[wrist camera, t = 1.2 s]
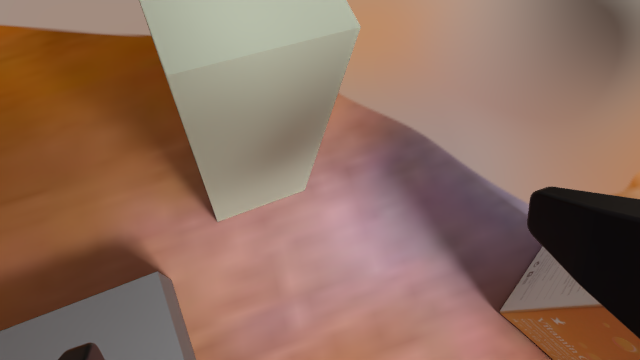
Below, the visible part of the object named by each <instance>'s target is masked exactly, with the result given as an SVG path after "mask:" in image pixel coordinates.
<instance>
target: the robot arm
mask: <svg viewBox="0 0 640 360" xmlns="http://www.w3.org/2000/svg"><path fill="white" fill-rule="evenodd" d="M527 226H528V229H529V231H530V233H531V234H532V235H533V236H534V237H535V238H536V239H537V241H538V242H539V243H540V244H541V245H542V246H543V247H544V248H545V249H546V250H547V251H548V252H549V253H550V254H551V255H552V256H553V258H554V259H555V260H556V261H557V262H558V263H559V264H560V265H561V266H562V267H563V268H564V269H565V270H566V271H567V272H568V273H569V275H570V276H571V277H572V278H573V279H574V280H575V281H576V282H577V283H578V284H579V285H580V286H581V287H582V288H583V289H584V290H586V291H587V292H588V293H589V294H590V295H591V296H592V297H593V298H594V299H595V300H596V301H598V302H599V303H600V304H601V305H602V306H603V307H604V308H605V309H607V310H608V311H609V312H610V313H611V314H612V315H613V316H614V317H615V318H617V319H618V320H619V321H620V322H621V323H622V324H623V325H624V326H625V327H627V328H628V329H629V330H630V331H631V332H632V333H633V334H634V335H636V336H637V337H638V338H639V339H640V199H634V198H627V197H620V196H613V195H606V194H599V193H592V192H585V191H579V190H572V189H565V188H558V187H546V188H543V189H540V190H537V191H535V192H533V194H532V195H531V197H530V203H529V211H528V219H527ZM58 360H105V359H104V357H103V355H102V353H101V351H100V349H99V348H98V346H97V345H96V344H95V343H91V342H90V343H86V344H83V345H80V346H77V347H74V348H71V349H69V350H67V351H65V352H64V353H63V354H62V355H61V356H60V358H59V359H58Z"/></svg>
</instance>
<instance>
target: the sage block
mask: <svg viewBox="0 0 640 360" xmlns="http://www.w3.org/2000/svg"><path fill="white" fill-rule="evenodd" d="M139 2H140V4H141V7H142V10H143V13H144V16H145V19H146V21H147V25H148V27H149V30H150V33H151V36H152V39H153V42H154V44H155V47H156V50H157V53H158V56H159V59H160V61H161V64H162V67H163V70H164V73H165V76H166V78H167V81H168V84H169V87H170V90H171V93H172V95H173V98H174V101H175V104H176V107H177V110H178V113H179V115H180V118H181V121H182V124H183V127H184V130H185V132H186V135H187V138H188V141H189V144H190V146H191V149H192V152H193V155H194V158H195V160H196V163H197V166H198V169H199V172H200V174H201V177H202V180H203V183H204V186H205V188H206V191H207V194H208V197H209V199H210V202H211V205H212V208H213V211H214V213H215V216H216V219H217V222H219V221H221V220H224V219H227V218H230V217H233V216H235V215H238V214H241V213H244V212H246V211H249V210H252V209H255V208H257V207H260V206H263V205H266V204H269V203H271V202H274V201H277V200H280V199H282V198H285V197H288V196H291V195H293V194H296V193H299V192H302V191H304V190H305V188H306V185H307V182H308V179H309V176H310V173H311V170H312V167H313V164H314V161H315V158H316V156H317V153H318V150H319V147H320V144H321V141H322V138H323V135H324V132H325V129H326V126H327V124H328V121H329V118H330V115H331V112H332V109H333V106H334V103H335V100H336V97H337V94H338V92H339V89H340V85H341V83H342V80H343V77H344V74H345V71H346V68H347V65H348V62H349V60H350V57H351V54H352V51H353V47H354V45H355V42H356V39H357V36H358V33H359V30H360V25H359V23H358V21H357V19H356V17H355V15H354V14H353V12H352V10H351V8H350V6H349V4H348V3H347V1H346V0H139Z"/></svg>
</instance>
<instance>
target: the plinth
mask: <svg viewBox="0 0 640 360" xmlns="http://www.w3.org/2000/svg"><path fill="white" fill-rule="evenodd" d="M90 342H91V343H95V344H96V345H97V346H98V348H99V349H100V351H101V353H102V355H103V357H104V359H105V360H196V358H195V355H194V351H193V348H192V345H191V342H190V339H189V335H188V332H187V329H186V326H185V322H184V319H183V316H182V313H181V310H180V306H179V303H178V300H177V297H176V293H175V290H174V287H173V284H172V281H171V279H169V278H167V277H166V276H164V275H162V274H161V273H159V272H158V271H157V272H155V273H152V274H149V275H147V276H144V277H141V278H139V279H136V280H134V281H131V282H128V283H126V284H123V285H120V286H118V287H115V288H112V289H110V290H107V291H105V292H102V293H99V294H97V295H94V296H91V297H89V298H86V299H84V300H81V301H78V302H76V303H73V304H70V305H68V306H65V307H62V308H60V309H57V310H55V311H52V312H49V313H47V314H44V315H41V316H39V317H36V318H34V319H31V320H28V321H26V322H23V323H20V324H18V325H15V326H12V327H10V328H7V329H5V330H2V331H0V360H58V359H59V358H60V356H61V355H62V354H63V353H64V352H65V351H67V350H69V349H71V348H74V347H77V346H80V345H83V344H86V343H90Z"/></svg>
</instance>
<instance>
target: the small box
mask: <svg viewBox="0 0 640 360" xmlns="http://www.w3.org/2000/svg"><path fill="white" fill-rule="evenodd" d="M500 313H501V315H503V316H504V317H505V318H506V319H507V320H509V321H510V322H511V323H512V324H514V325H515V326H516V327H517V328H518V329H519V330H521V331H522V332H523V333H524V334H525V335H526V336H527V337H528V338H530V339H531V340H532V341H533V342H534V343H535V344H536V345H538V346H539V347H540V348H541V349H542V350H543V351H544V352H545V353H546V354H547V355H548V356H550V357H551V358H552V359H553V360H640V339H639V338H638V337H637V336H636V335H634V334H633V333H632V332H631V331H630V330H629V329H628V328H627V327H625V326H624V325H623V324H622V323H621V322H620V321H619V320H618V319H617V318H615V317H614V316H613V315H612V314H611V313H610V312H609V311H608V310H607V309H605V308H604V307H603V306H602V305H601V304H600V303H599V302H598V301H596V300H595V299H594V298H593V297H592V296H591V295H590V294H589V293H588V292H587V291H586V290H584V289H583V288H582V287H581V286H580V285H579V284H578V283H577V282H576V281H575V280H574V279H573V278H572V277H571V276H570V275H569V273H568V272H567V271H566V270H565V269H564V268H563V267H562V266H561V265H560V264H559V263H558V262H557V261H556V260H555V259H554V258H553V256H552V255H551V254H550V253H549V252H548V251H547V250H546V249H545V248H544V247H543V246H542V248H541V250H540V251H539V252H538V254H537V255H536V257H535V259H534V260H533V262H532V263H531V265H530V266H529V268H528V269H527V271H526V272H525V274H524V275H523V277H522V278H521V280H520V281H519V283H518V284H517V286H516V287H515V289H514V290H513V292H512V293H511V295H510V296H509V298H508V299H507V301H506V302H505V304H504V305H503V307H502V308H501V310H500Z"/></svg>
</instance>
